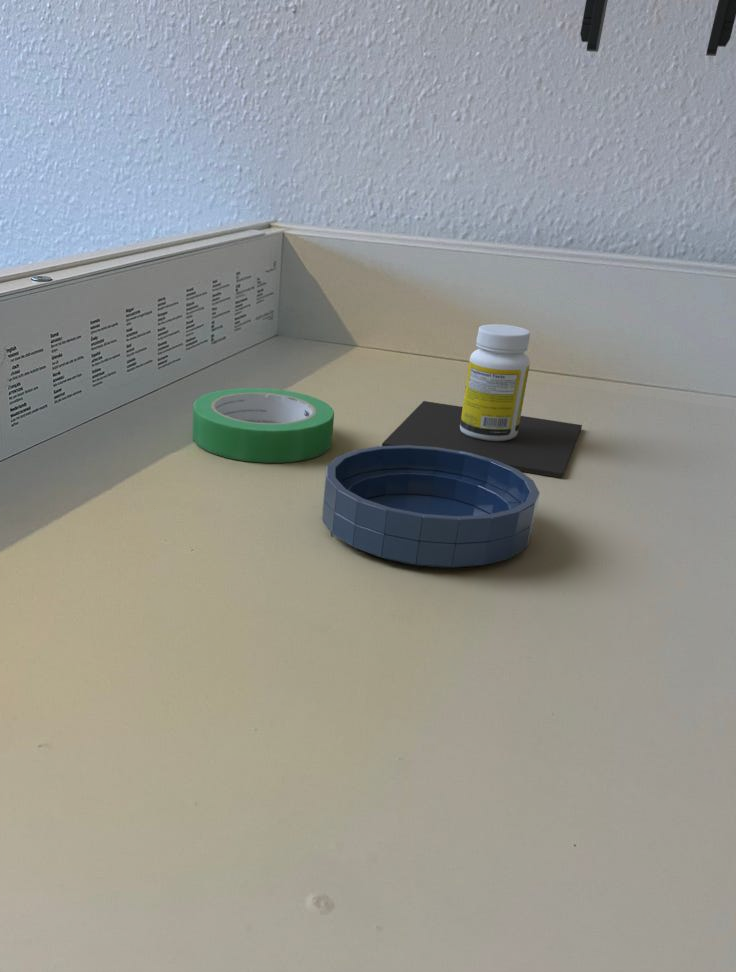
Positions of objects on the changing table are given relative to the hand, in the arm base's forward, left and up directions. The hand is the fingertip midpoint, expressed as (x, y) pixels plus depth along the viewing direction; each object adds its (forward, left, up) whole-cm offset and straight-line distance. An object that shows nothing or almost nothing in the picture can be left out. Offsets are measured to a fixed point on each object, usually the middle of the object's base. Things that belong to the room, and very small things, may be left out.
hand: (650, 53), depth 74 cm
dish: (+6, +32, -28) cm, 43 cm away
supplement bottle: (+6, +10, -28) cm, 30 cm away
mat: (+6, +10, -28) cm, 30 cm away
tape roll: (+22, +20, -28) cm, 41 cm away
